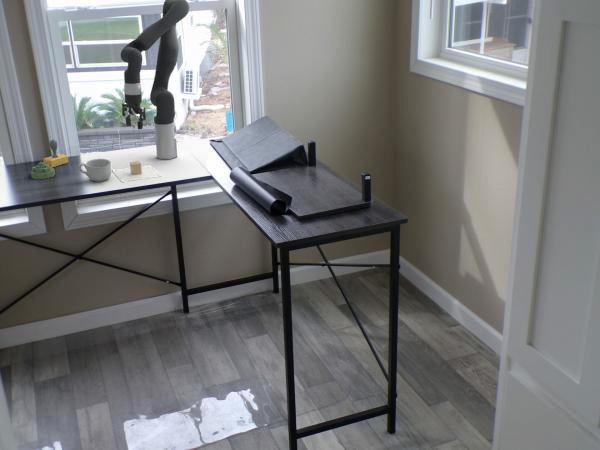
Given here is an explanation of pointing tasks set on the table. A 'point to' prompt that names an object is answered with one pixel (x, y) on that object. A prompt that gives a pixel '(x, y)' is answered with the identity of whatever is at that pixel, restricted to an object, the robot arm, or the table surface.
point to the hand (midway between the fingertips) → (134, 127)
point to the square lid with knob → (136, 172)
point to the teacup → (97, 169)
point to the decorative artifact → (42, 171)
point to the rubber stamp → (55, 156)
